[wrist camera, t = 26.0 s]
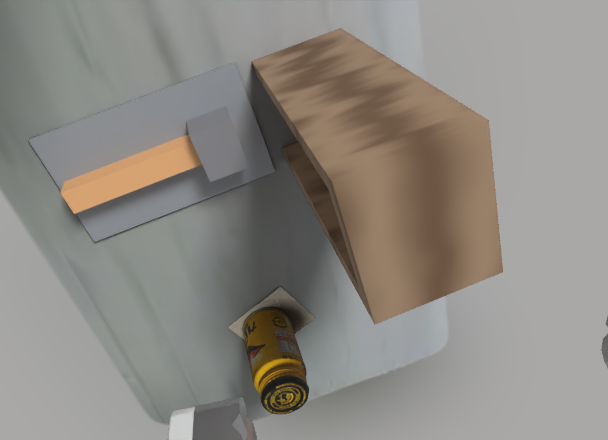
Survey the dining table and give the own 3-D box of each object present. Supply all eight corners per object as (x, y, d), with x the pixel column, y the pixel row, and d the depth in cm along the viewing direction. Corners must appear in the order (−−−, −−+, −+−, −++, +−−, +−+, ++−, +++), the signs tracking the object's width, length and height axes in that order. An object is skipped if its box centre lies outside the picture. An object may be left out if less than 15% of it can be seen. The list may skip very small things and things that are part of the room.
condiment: (227, 327, 64) (241, 403, 54) (279, 285, 63) (304, 356, 53) (264, 354, 68) (284, 431, 58) (314, 316, 67) (343, 387, 57)
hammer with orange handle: (84, 212, 52) (79, 233, 49) (56, 170, 49) (49, 189, 46) (243, 150, 53) (250, 166, 49) (225, 105, 50) (231, 119, 47)
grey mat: (94, 240, 54) (94, 242, 54) (29, 138, 48) (28, 140, 47) (274, 170, 55) (275, 171, 55) (235, 61, 49) (235, 62, 48)
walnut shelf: (286, 161, 55) (374, 324, 33) (251, 61, 49) (331, 181, 27) (365, 130, 55) (503, 271, 34) (340, 28, 49) (488, 120, 28)
